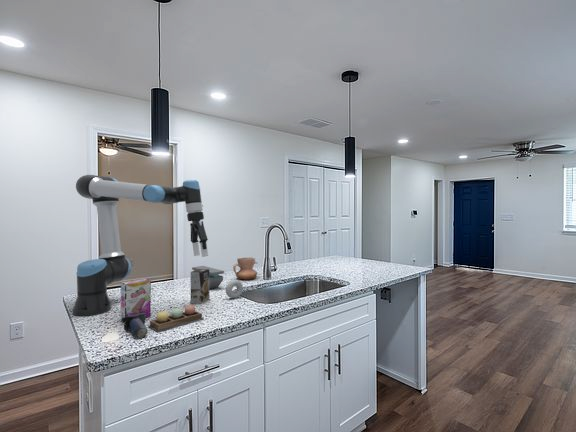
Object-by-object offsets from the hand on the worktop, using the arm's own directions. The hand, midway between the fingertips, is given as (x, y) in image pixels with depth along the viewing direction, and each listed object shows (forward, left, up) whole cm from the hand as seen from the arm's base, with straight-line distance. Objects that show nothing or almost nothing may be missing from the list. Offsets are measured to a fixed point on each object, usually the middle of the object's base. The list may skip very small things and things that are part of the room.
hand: (200, 256), depth 150 cm
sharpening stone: (-35, +26, -25) cm, 50 cm away
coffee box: (-10, +6, -25) cm, 28 cm away
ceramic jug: (-35, +56, -25) cm, 71 cm away
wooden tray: (+11, -18, -25) cm, 33 cm away
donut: (-2, +21, -25) cm, 33 cm away
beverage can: (+10, -33, -26) cm, 43 cm away
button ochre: (+11, -24, -22) cm, 34 cm away
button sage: (+11, -18, -22) cm, 30 cm away
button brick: (+11, -12, -22) cm, 27 cm away
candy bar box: (-7, -27, -25) cm, 38 cm away
